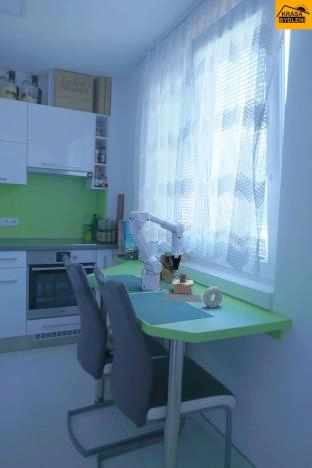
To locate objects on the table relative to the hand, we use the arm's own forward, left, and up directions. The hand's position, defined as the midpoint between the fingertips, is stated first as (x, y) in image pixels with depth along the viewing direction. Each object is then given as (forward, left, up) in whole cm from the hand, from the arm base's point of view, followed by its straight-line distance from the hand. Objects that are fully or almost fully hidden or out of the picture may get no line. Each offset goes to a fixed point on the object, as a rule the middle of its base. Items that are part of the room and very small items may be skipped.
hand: (176, 268), depth 191 cm
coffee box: (-4, +14, -11) cm, 18 cm away
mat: (+4, -25, -10) cm, 28 cm away
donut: (+17, -38, -11) cm, 43 cm away
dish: (+4, -12, -10) cm, 16 cm away
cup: (-16, +18, -11) cm, 26 cm away
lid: (+4, -12, -5) cm, 14 cm away
